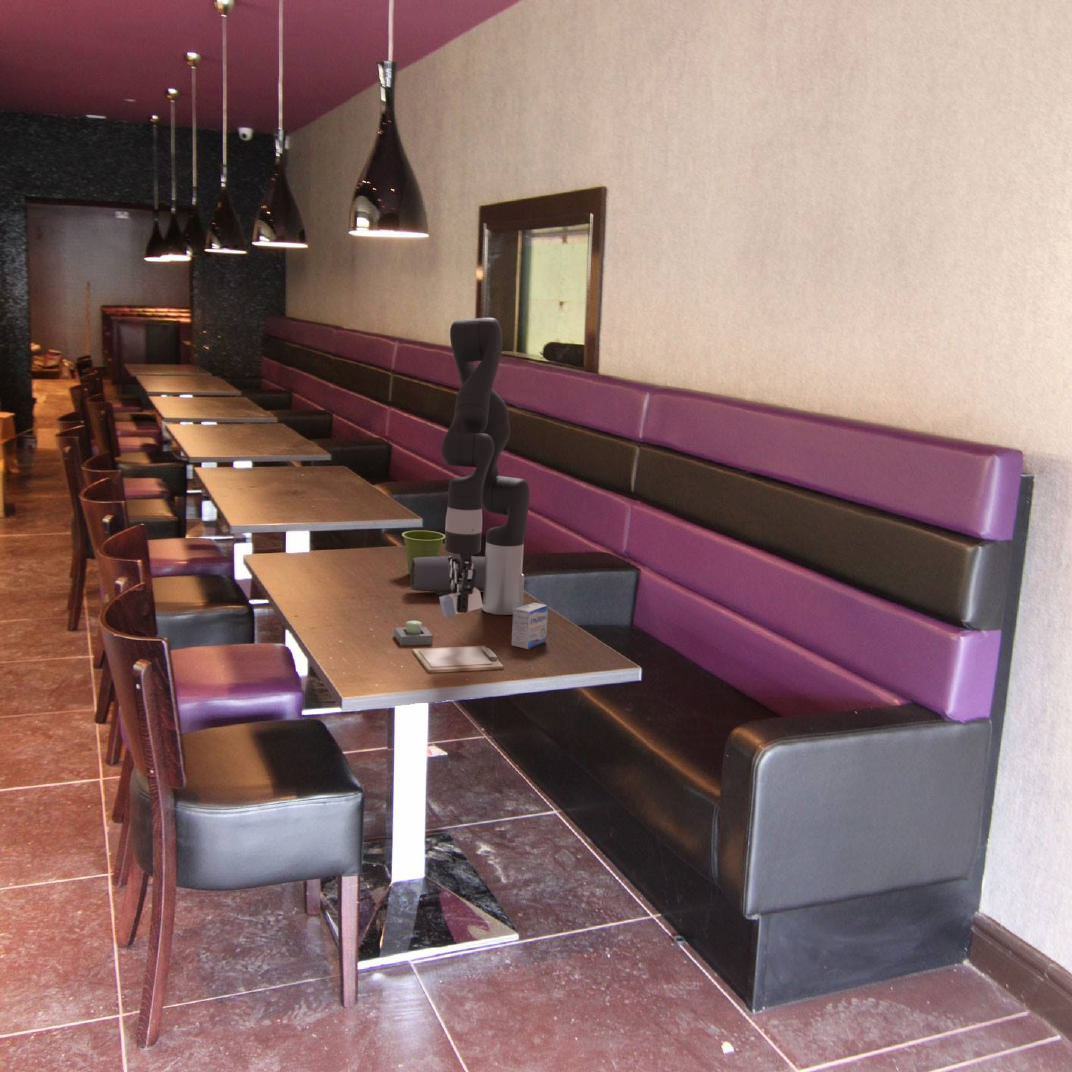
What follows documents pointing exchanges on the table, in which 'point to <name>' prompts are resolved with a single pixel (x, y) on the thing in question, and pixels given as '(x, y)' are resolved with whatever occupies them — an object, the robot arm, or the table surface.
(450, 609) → the white carton blue base
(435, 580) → the bluetooth speaker
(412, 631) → the button
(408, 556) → the plant pot
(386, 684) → the table surface
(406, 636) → the button housing
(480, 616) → the table surface
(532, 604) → the medicine box
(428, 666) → the clipboard
